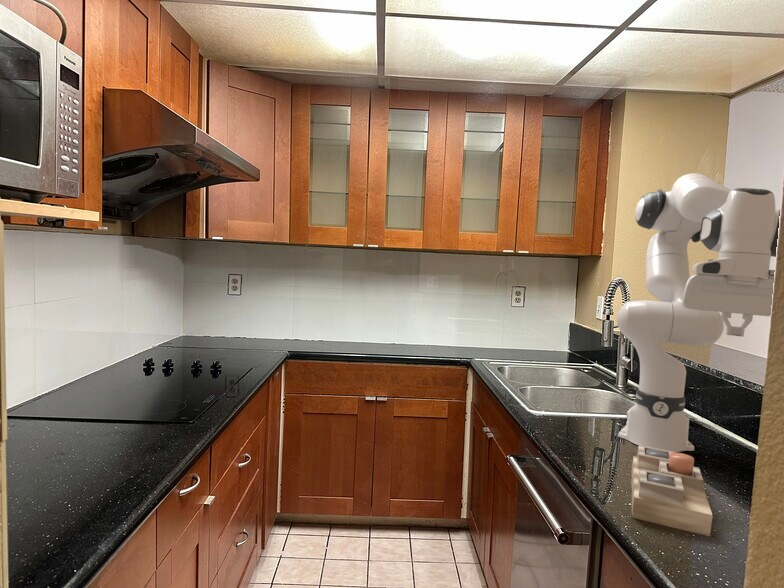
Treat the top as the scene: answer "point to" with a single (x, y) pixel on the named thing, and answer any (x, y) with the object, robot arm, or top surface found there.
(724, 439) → the top surface
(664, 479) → the button
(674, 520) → the control panel
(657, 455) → the button
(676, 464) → the middle button
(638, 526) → the top surface
